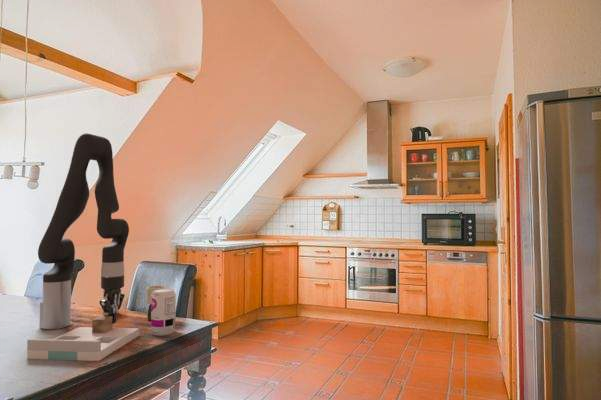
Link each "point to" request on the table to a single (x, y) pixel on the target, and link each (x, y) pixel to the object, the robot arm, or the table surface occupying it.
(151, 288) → the character mug
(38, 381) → the table surface
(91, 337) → the board
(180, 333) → the table surface
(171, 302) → the supplement can
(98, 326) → the walnut block
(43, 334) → the table surface
